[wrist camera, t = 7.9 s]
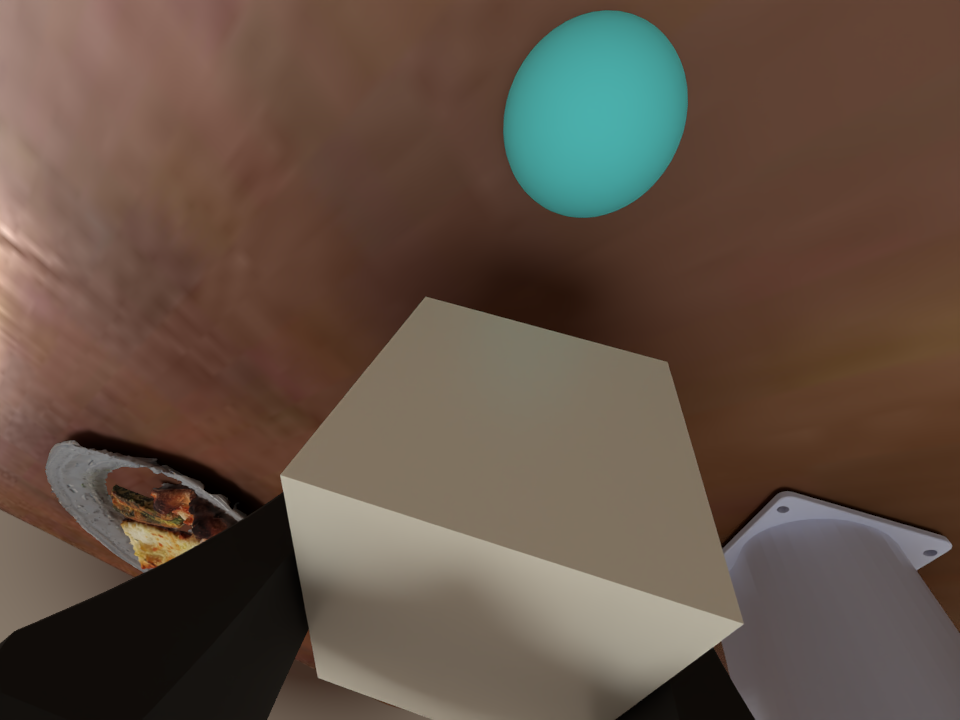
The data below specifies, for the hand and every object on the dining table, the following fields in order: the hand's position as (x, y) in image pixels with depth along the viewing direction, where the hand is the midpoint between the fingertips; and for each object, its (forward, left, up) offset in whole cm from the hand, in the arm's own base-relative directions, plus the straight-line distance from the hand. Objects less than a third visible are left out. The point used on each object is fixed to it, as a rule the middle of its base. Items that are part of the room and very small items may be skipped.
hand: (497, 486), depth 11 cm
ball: (+8, 0, -7) cm, 11 cm away
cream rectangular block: (0, 0, -2) cm, 2 cm away
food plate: (-31, +26, -10) cm, 42 cm away
